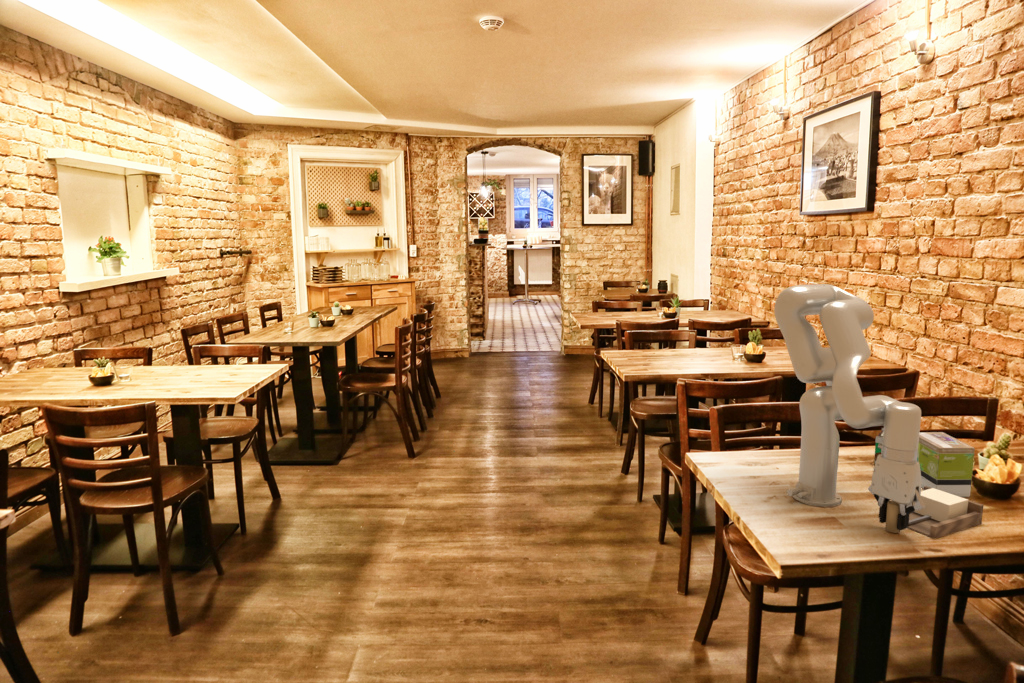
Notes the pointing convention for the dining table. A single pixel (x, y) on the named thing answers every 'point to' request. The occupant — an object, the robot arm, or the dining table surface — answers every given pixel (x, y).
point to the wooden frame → (947, 521)
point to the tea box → (945, 463)
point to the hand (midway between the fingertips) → (893, 524)
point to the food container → (878, 440)
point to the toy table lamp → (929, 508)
